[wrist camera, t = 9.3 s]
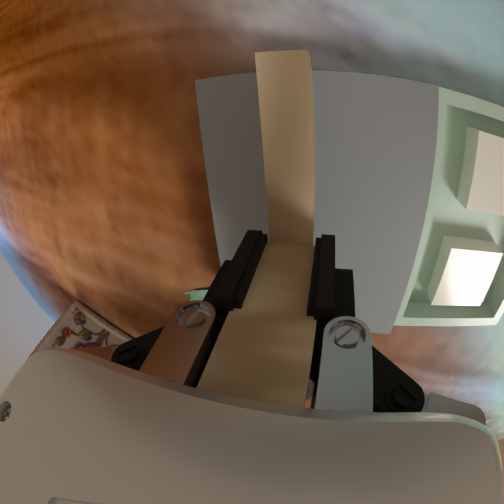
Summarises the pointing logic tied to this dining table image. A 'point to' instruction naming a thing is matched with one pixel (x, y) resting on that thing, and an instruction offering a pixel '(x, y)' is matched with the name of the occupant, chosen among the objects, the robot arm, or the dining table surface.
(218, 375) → the tan bar
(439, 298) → the tile
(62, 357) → the robot arm
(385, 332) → the board
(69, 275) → the dining table surface
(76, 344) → the decorative jar
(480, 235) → the tray
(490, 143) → the tile
